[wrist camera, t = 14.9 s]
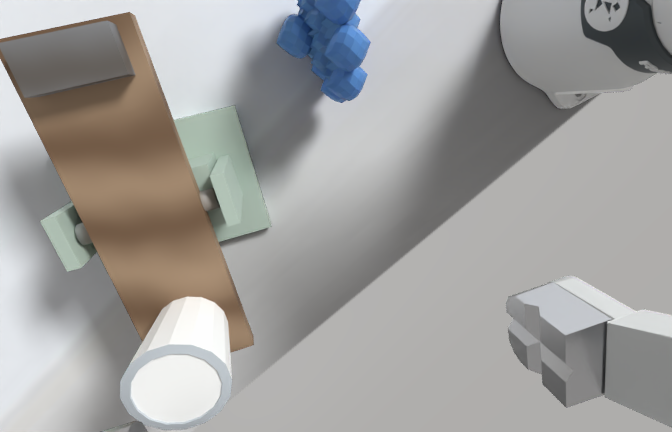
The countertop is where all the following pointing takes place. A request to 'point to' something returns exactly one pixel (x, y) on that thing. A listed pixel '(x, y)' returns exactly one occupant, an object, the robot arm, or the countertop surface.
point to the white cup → (180, 367)
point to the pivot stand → (209, 171)
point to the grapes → (329, 44)
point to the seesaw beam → (124, 166)
